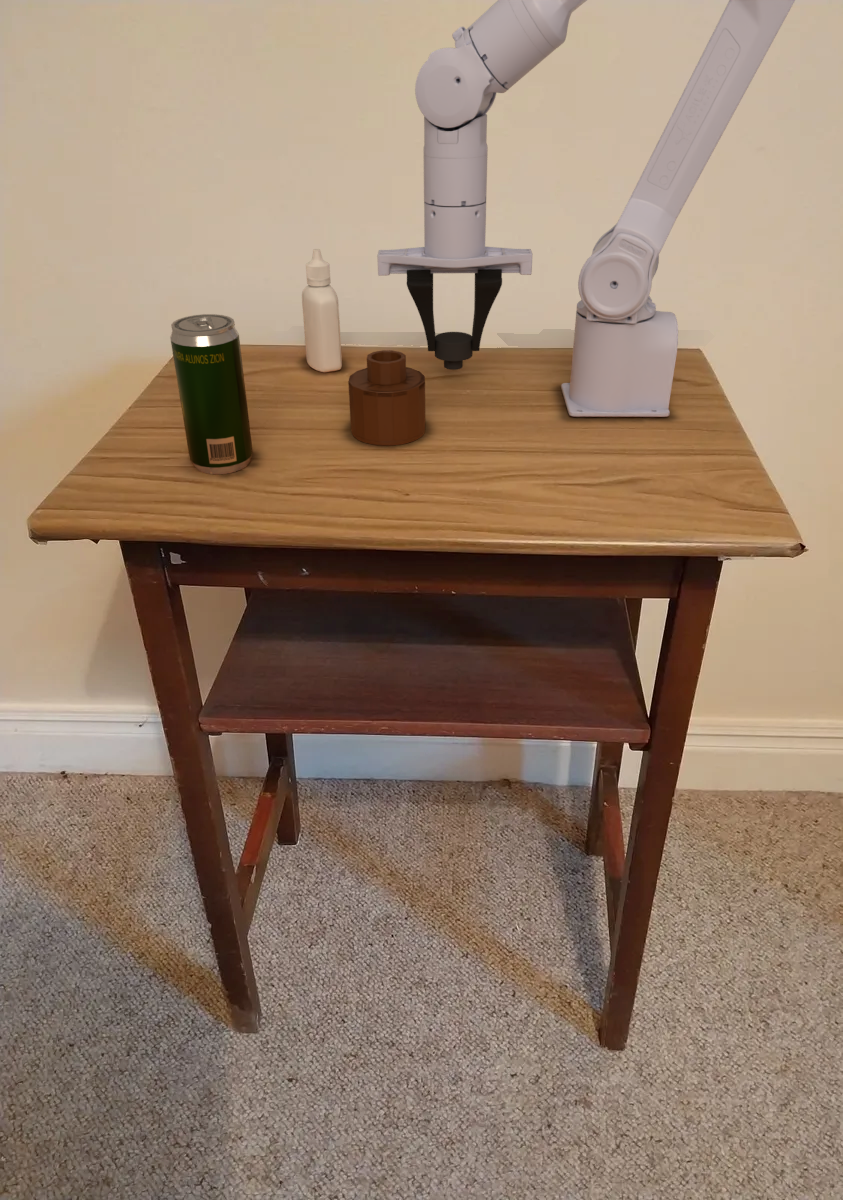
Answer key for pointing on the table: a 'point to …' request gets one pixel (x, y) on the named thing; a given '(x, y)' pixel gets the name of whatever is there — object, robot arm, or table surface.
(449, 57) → the robot arm
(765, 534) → the table surface
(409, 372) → the amber bottle
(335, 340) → the eye dropper bottle
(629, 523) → the table surface
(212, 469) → the beer can
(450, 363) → the cylinder
